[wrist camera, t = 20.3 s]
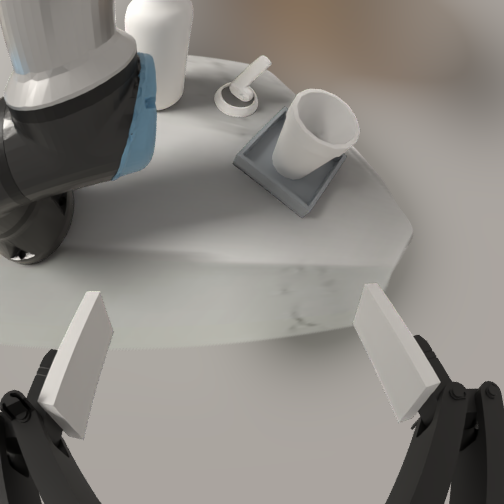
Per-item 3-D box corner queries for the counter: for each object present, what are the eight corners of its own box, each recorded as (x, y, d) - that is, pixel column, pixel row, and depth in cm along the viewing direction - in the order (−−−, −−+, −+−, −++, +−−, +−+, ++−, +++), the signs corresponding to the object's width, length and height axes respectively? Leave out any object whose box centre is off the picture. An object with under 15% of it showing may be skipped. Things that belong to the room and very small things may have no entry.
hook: (294, 77, 44) (289, 79, 38) (247, 119, 51) (236, 128, 45) (263, 48, 42) (253, 46, 36) (218, 92, 48) (204, 98, 43)
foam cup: (307, 135, 47) (343, 90, 35) (325, 184, 46) (370, 147, 34) (255, 139, 44) (282, 88, 32) (271, 192, 43) (307, 150, 31)
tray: (232, 163, 43) (236, 154, 40) (278, 116, 47) (284, 106, 44) (301, 217, 44) (309, 211, 42) (338, 163, 48) (347, 156, 45)
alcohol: (167, 119, 42) (182, -55, 13) (122, 104, 41) (106, -58, 12) (192, 84, 44) (224, -70, 16) (149, 71, 43) (156, -77, 14)
